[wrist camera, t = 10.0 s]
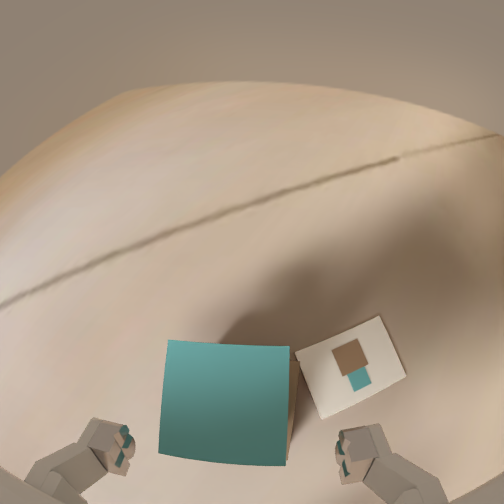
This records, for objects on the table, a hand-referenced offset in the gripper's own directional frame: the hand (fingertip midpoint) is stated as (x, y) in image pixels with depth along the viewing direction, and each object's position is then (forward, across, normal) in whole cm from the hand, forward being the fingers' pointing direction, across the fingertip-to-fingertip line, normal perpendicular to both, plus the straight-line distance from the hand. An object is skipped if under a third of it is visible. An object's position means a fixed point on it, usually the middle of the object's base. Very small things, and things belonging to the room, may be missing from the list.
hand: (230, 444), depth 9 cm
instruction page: (+11, -8, +6) cm, 15 cm away
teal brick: (+7, 0, +5) cm, 8 cm away
